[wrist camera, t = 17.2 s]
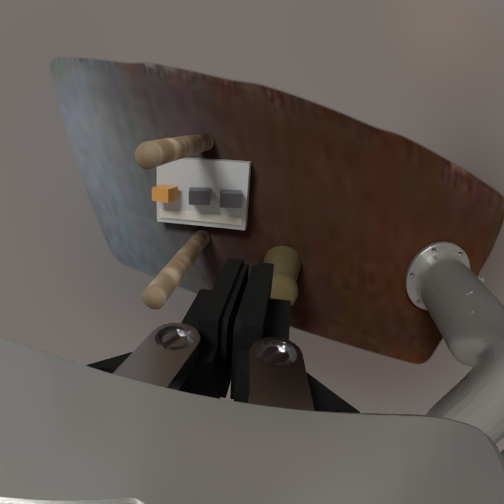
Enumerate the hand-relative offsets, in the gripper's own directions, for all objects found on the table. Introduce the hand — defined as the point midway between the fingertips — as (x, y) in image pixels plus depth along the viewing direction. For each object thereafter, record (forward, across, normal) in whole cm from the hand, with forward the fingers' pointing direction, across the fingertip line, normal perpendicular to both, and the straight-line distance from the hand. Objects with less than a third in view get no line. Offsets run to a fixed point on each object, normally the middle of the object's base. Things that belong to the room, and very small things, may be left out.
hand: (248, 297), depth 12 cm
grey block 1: (+35, +12, +4) cm, 37 cm away
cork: (+37, -1, +15) cm, 40 cm away
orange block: (+35, +16, +4) cm, 39 cm away
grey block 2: (+35, +8, +4) cm, 36 cm away
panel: (+37, +12, +4) cm, 39 cm away
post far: (+37, +12, +12) cm, 41 cm away
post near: (+37, +12, -3) cm, 39 cm away
